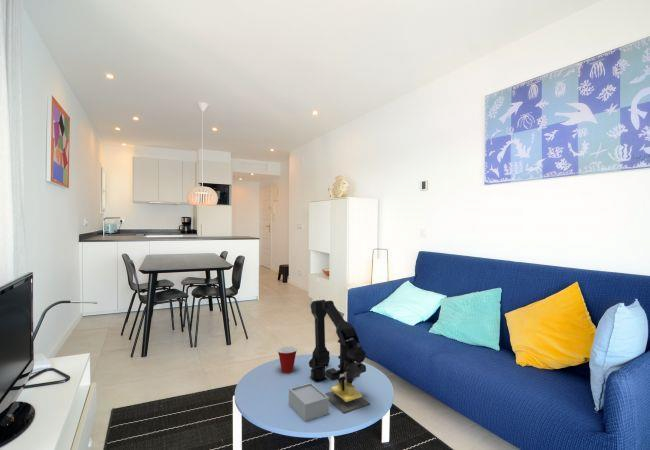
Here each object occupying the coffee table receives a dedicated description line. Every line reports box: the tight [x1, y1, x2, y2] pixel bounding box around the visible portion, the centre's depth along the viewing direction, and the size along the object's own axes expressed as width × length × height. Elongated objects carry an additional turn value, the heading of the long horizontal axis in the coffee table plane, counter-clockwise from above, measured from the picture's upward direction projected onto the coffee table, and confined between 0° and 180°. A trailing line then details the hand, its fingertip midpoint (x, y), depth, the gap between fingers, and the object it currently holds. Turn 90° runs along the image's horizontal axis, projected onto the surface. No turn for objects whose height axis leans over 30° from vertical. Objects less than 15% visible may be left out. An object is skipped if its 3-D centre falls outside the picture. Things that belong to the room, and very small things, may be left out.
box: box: [288, 382, 330, 423], centre depth 142 cm, size 11×15×7 cm
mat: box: [324, 390, 371, 414], centre depth 150 cm, size 14×17×1 cm
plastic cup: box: [276, 345, 298, 374], centre depth 179 cm, size 11×11×12 cm
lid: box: [330, 379, 363, 402], centre depth 150 cm, size 8×12×4 cm
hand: (345, 389), depth 150 cm, fingers closed on lid, 3 cm apart
